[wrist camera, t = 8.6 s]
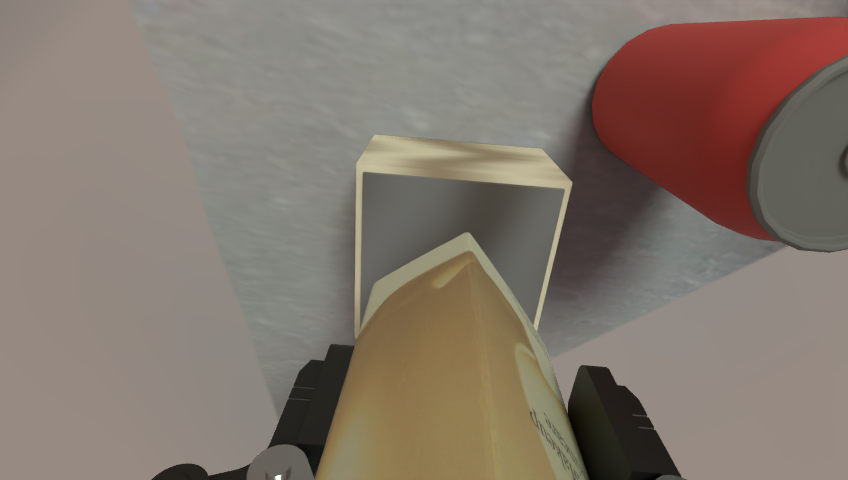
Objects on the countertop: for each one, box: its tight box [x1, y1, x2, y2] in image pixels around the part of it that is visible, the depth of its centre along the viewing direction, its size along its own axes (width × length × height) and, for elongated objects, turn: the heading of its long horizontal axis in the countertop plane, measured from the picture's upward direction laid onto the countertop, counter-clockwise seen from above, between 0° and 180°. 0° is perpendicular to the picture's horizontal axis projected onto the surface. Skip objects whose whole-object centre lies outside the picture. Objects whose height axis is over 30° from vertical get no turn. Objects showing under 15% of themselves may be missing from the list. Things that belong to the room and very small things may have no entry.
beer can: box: [592, 17, 848, 253], centre depth 16 cm, size 7×7×12 cm
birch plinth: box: [354, 135, 572, 338], centre depth 22 cm, size 9×9×6 cm
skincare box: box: [315, 232, 590, 480], centre depth 11 cm, size 6×4×12 cm
